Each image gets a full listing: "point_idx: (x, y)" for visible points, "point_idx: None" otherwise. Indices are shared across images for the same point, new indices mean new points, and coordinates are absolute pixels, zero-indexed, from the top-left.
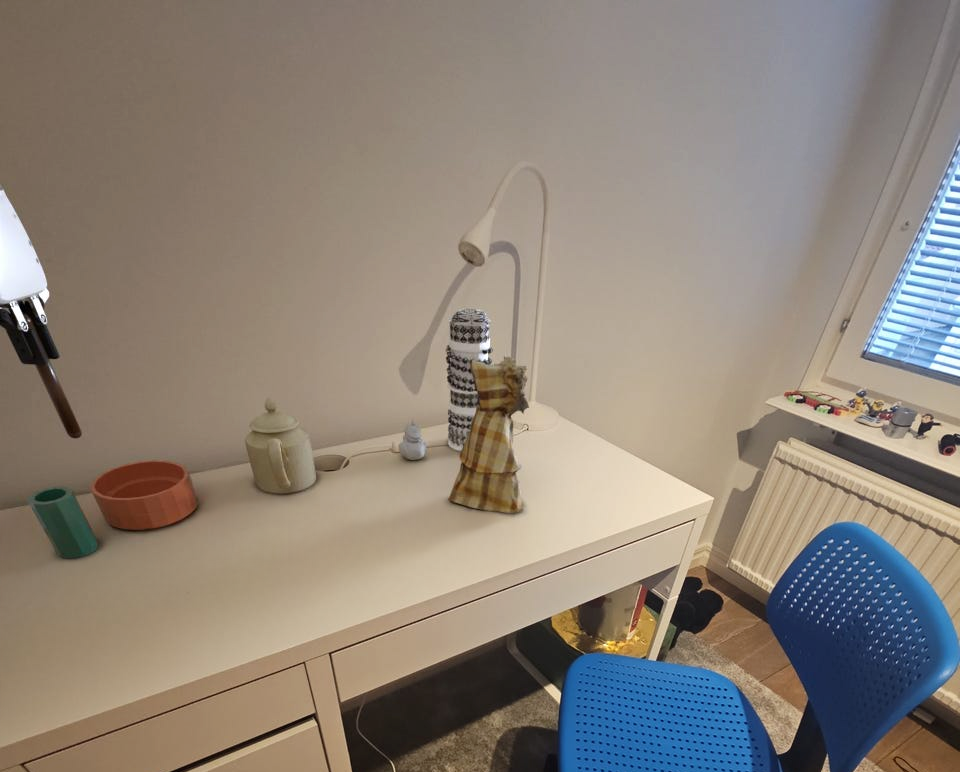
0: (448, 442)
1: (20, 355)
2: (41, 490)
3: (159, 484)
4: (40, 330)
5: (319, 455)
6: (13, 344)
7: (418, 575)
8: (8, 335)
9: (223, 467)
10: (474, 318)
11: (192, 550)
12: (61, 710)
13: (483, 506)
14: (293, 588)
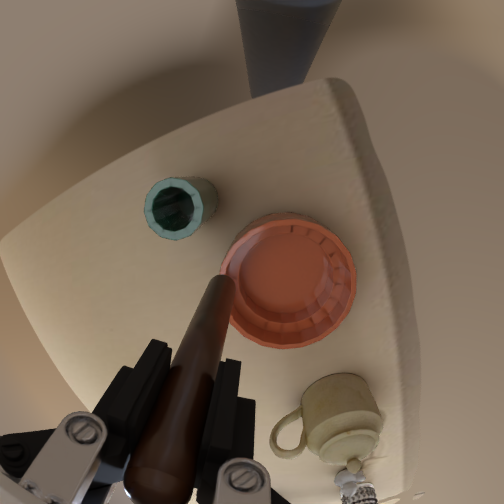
0: (362, 484)
1: (121, 369)
2: (190, 189)
3: (330, 283)
4: None
5: (387, 414)
6: (131, 377)
7: None
8: (116, 397)
9: (396, 330)
10: None
11: (182, 328)
12: (10, 263)
13: None
14: None
